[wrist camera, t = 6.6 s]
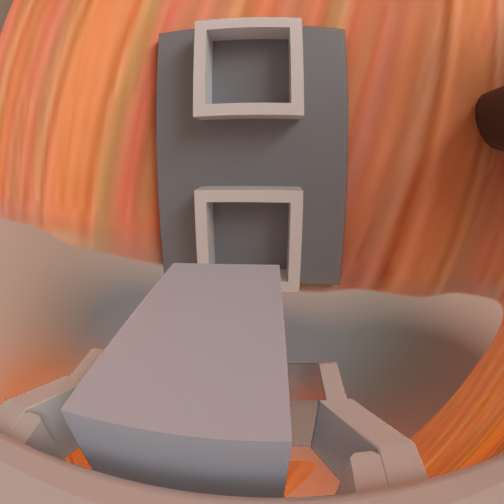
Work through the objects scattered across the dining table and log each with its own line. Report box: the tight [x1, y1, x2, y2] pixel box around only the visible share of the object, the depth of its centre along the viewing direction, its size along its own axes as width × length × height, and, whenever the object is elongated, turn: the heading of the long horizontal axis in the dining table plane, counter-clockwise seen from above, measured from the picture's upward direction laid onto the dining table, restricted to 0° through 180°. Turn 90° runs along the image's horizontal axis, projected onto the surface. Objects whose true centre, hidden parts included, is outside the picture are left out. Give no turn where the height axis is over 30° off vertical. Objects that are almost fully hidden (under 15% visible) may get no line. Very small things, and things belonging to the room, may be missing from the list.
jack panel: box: [156, 17, 348, 293], centre depth 21 cm, size 14×20×4 cm
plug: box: [60, 263, 292, 498], centre depth 9 cm, size 4×5×8 cm
